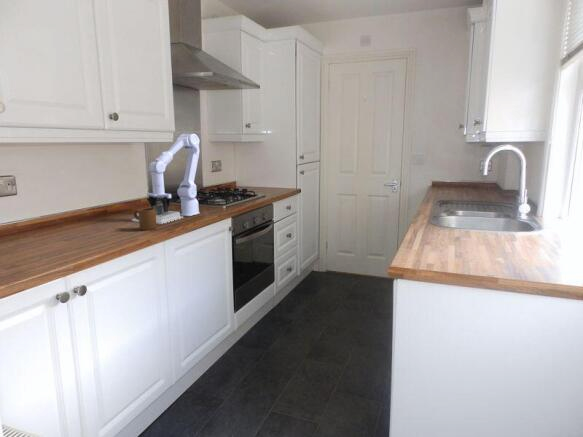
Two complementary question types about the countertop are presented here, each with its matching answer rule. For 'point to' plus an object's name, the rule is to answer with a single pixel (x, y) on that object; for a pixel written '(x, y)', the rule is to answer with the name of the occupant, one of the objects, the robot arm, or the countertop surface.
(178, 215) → the rack
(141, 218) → the mug
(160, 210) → the panel
